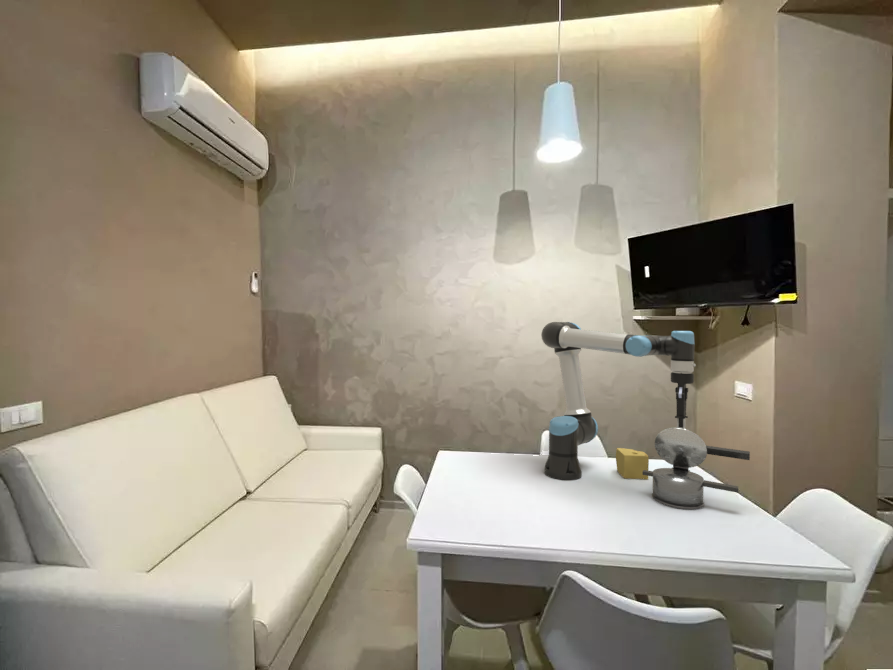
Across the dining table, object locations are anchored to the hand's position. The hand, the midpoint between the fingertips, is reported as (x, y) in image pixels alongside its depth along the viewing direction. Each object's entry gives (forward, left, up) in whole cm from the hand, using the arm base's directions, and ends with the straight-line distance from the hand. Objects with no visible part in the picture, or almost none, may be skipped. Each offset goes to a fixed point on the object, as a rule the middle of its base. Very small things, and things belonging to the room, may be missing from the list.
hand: (680, 435), depth 161 cm
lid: (+6, -3, -5) cm, 8 cm away
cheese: (-19, +11, -22) cm, 31 cm away
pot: (+3, -7, -22) cm, 23 cm away
